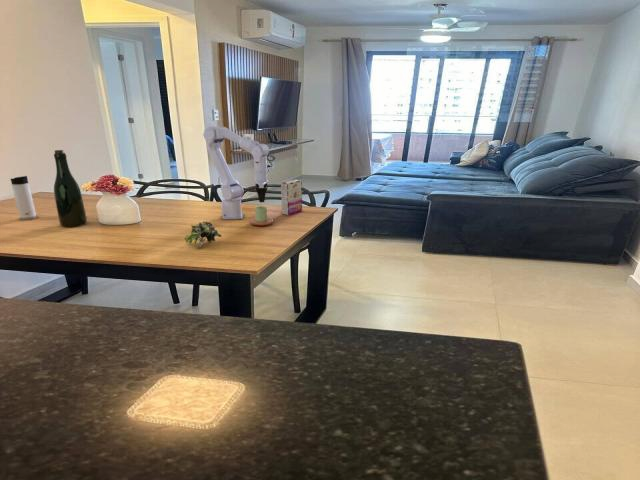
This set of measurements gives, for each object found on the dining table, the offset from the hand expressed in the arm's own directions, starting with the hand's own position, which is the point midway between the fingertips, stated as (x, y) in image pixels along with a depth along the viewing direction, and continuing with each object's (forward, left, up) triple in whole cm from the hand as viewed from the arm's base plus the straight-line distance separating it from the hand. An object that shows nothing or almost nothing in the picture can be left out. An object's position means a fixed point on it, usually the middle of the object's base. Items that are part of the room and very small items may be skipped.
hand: (261, 200), depth 179 cm
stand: (-1, -4, -10) cm, 11 cm away
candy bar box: (+15, +15, -11) cm, 24 cm away
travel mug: (-110, +17, -10) cm, 111 cm away
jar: (-1, -4, -9) cm, 9 cm away
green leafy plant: (-24, -31, -11) cm, 40 cm away
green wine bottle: (-85, +4, -10) cm, 85 cm away
